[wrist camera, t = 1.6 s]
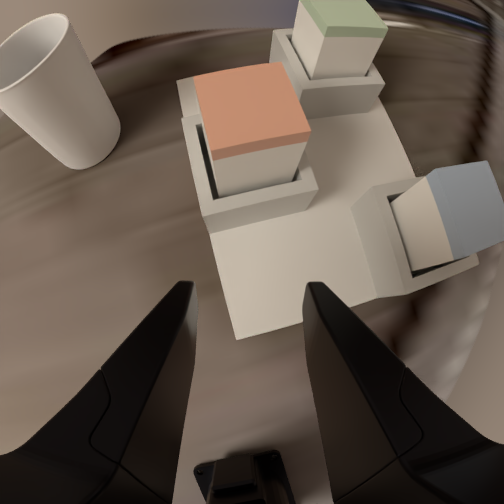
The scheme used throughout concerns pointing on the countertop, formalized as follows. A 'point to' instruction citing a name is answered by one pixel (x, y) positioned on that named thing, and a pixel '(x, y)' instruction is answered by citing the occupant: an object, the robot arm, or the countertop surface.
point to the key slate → (449, 215)
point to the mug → (57, 92)
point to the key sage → (336, 37)
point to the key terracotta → (251, 127)
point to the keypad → (313, 206)
